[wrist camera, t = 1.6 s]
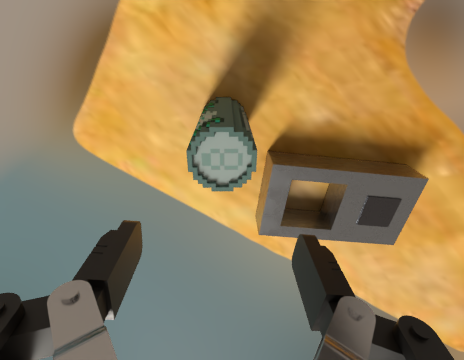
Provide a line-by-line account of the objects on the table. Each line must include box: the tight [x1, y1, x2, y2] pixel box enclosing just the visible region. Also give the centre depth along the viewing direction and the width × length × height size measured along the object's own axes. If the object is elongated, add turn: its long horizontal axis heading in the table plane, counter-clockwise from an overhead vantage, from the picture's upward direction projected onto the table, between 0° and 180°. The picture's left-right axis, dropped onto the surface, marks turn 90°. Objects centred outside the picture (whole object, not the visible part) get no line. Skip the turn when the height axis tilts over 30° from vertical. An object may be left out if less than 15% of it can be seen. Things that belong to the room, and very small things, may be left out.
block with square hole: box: [256, 151, 428, 245], centre depth 39 cm, size 12×22×5 cm, turn 84°
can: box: [187, 97, 257, 191], centre depth 28 cm, size 6×6×15 cm
